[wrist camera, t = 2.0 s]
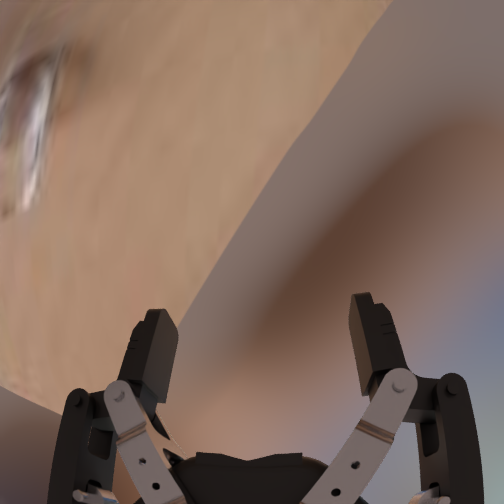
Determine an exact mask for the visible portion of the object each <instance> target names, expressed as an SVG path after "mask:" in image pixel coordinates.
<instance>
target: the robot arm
mask: <svg viewBox="0 0 504 504" xmlns="http://www.w3.org/2000/svg"><path fill="white" fill-rule="evenodd" d="M349 330H350V335H351V339H352V344H353V349H354V354H355V359H356V364H357V370H358V375H359V381H360V387H361V393H362V396H368V395H369V398H370V404H369V406H368V408H367V410H366V411H365V413H364V415H363V416H362V418H361V419H360V421H359V423H358V424H357V426H356V427H355V429H354V430H353V432H352V434H351V435H350V437H349V438H348V440H347V441H346V443H345V444H344V446H343V447H342V449H341V450H340V451H339V453H338V454H337V456H336V457H335V459H334V460H333V462H332V463H331V464H330V466H328V465H326V464H324V463H323V462H321V461H318V460H316V459H313V458H309V457H304V456H302V453H289V454H274V455H270V456H266V457H263V458H259V459H254V460H249V461H246V460H242V459H238V458H234V457H230V456H227V455H224V454H216V453H203V452H197V453H196V457H191V458H187V456H186V454H185V453H184V452H183V450H182V449H181V448H180V447H179V446H178V445H177V444H176V443H175V441H174V440H173V438H172V436H171V434H170V433H169V431H168V429H167V427H166V426H165V424H164V422H163V420H162V419H161V417H160V415H159V413H158V411H157V410H156V405H157V403H166V398H167V392H168V387H169V382H170V377H171V372H172V368H173V363H174V357H175V353H176V349H177V344H178V331H177V328H176V326H175V325H174V323H173V321H172V319H171V317H170V316H169V314H168V312H167V310H166V309H149V310H148V311H147V313H146V316H145V319H144V321H139V323H138V324H137V325H136V327H135V328H134V329H133V331H132V334H131V337H130V342H129V343H128V347H127V350H126V353H125V356H124V359H123V362H122V366H121V369H120V372H119V376H118V379H117V380H116V381H114V382H112V383H110V384H109V385H108V386H107V388H106V389H105V390H104V391H99V392H94V393H88V392H87V391H85V390H84V389H81V388H77V389H74V390H73V391H72V392H71V393H70V394H69V395H68V397H67V400H66V403H65V407H64V411H63V415H62V419H61V424H60V428H59V432H58V437H57V442H56V447H55V452H54V458H53V463H52V469H51V476H50V483H49V491H48V500H47V504H119V502H118V501H117V500H116V498H115V496H114V494H113V493H112V483H113V474H114V466H115V458H116V450H117V449H118V451H119V453H120V455H121V458H122V459H123V462H124V464H125V466H126V468H127V470H128V472H129V474H130V476H131V478H132V480H133V482H134V484H135V486H136V487H137V490H138V491H139V493H140V495H141V498H139V499H138V500H137V501H136V502H135V503H134V504H368V503H367V502H366V501H365V500H364V499H363V498H362V497H361V496H360V495H361V493H362V492H363V490H364V489H365V487H366V486H367V485H368V483H369V481H370V480H371V479H372V477H373V475H374V474H375V472H376V471H377V469H378V468H379V466H380V464H381V463H382V461H383V459H384V458H385V456H386V454H387V453H388V451H389V449H390V447H391V445H392V443H393V441H394V436H395V434H396V432H397V430H398V428H399V426H400V424H401V422H411V423H415V425H416V433H417V442H418V452H419V463H420V478H421V492H419V493H417V494H416V495H415V496H413V497H412V499H411V500H410V502H409V504H484V490H483V489H484V488H483V475H482V464H481V456H480V448H479V441H478V435H477V430H476V424H475V419H474V414H473V409H472V404H471V400H470V396H469V392H468V388H467V384H466V382H465V380H464V379H463V377H461V376H460V375H458V374H456V373H448V374H445V375H444V376H443V377H441V379H432V378H422V377H419V376H417V375H415V374H414V373H412V372H411V371H410V369H409V368H408V366H407V364H406V361H405V358H404V354H403V351H402V347H401V344H400V341H399V338H398V334H397V333H396V328H395V325H394V322H393V319H392V316H391V313H390V311H389V310H388V309H387V308H386V307H385V305H384V304H383V303H379V304H374V302H373V299H372V296H371V294H370V292H365V293H358V294H352V296H351V303H350V311H349ZM91 427H92V428H91ZM90 431H91V433H90ZM89 436H90V438H89ZM88 441H89V444H88Z"/></svg>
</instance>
